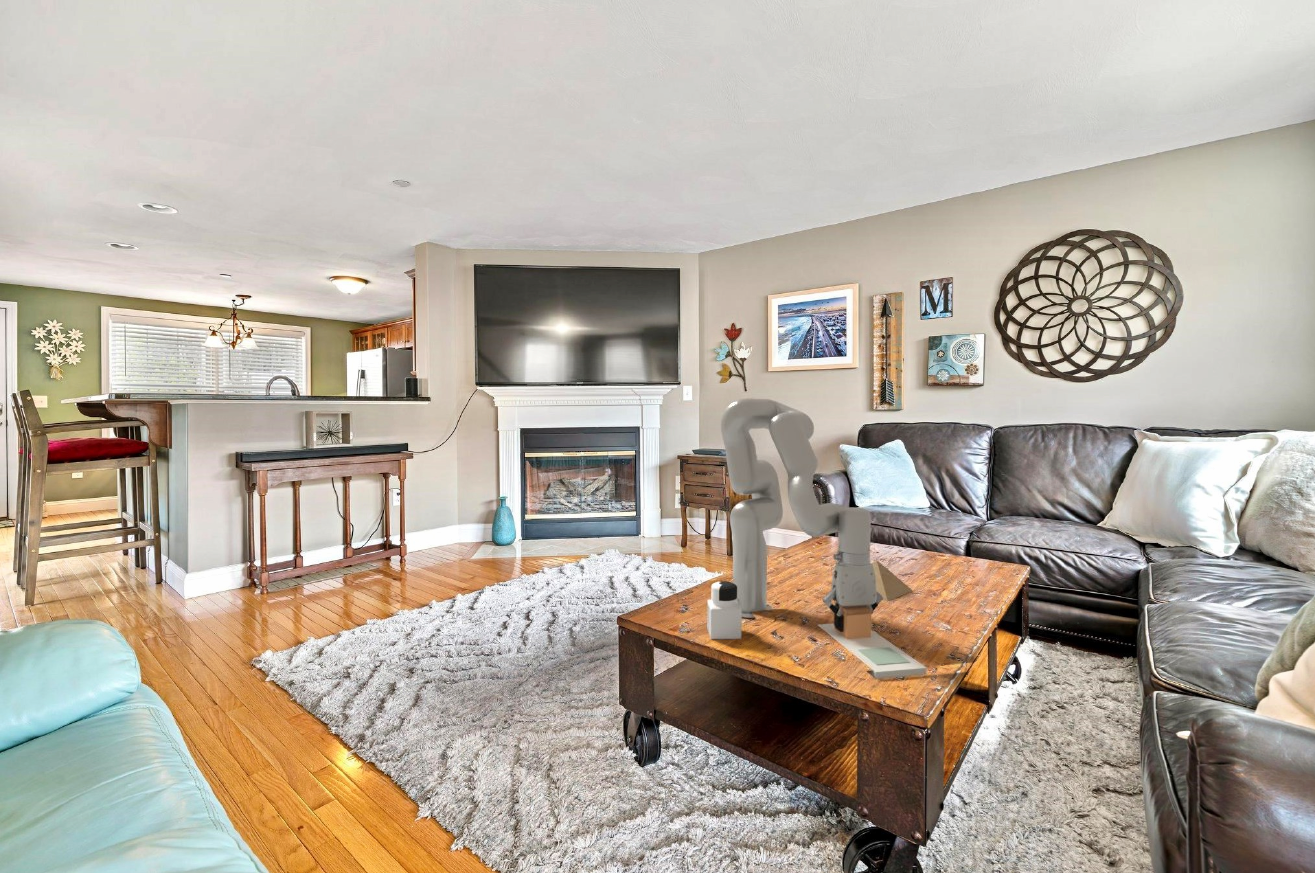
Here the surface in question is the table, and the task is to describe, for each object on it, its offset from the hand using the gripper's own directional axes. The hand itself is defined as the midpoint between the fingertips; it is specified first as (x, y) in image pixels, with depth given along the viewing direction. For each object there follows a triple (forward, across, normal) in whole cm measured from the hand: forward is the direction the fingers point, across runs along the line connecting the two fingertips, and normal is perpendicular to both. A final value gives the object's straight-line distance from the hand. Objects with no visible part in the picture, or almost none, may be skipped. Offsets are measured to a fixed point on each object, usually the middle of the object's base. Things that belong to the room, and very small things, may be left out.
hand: (852, 628), depth 148 cm
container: (+3, -30, +9) cm, 32 cm away
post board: (+3, 0, -7) cm, 8 cm away
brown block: (+1, 0, 0) cm, 1 cm away
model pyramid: (+3, +28, +36) cm, 45 cm away
